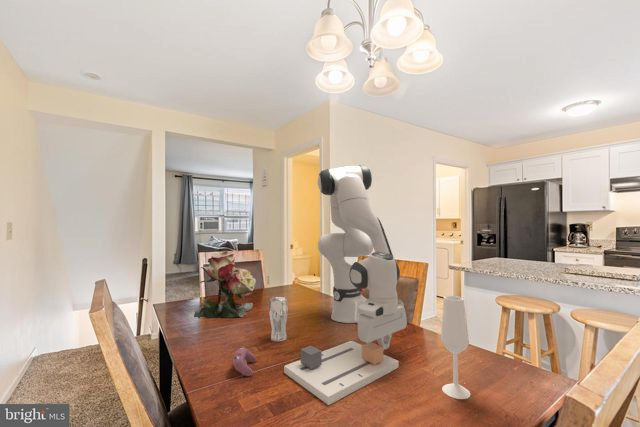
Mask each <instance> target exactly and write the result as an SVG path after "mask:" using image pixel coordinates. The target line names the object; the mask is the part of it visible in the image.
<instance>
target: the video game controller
mask: <svg viewBox="0 0 640 427" xmlns="http://www.w3.org/2000/svg"><path fill="white" fill-rule="evenodd" d="M257 359H258V358H257V356H256V354H254V353H252V352H251V351H249V350H248V349H247V348H245V346H243V347H240V348H238V349H237V350H236V351H235V353H234V358H233V359H232V364H233V367H234V369H235V370H236V371H238V373H240V374H242V375H243V376H244V377H252V375H253V374H254V371H253V369H252V368H251V367H250V366H249V365H248V362H249V363H256V362H257Z"/></svg>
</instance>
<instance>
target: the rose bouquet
mask: <svg viewBox="0 0 640 427" xmlns="http://www.w3.org/2000/svg"><path fill="white" fill-rule="evenodd" d="M235 259H236V256H235V254H234V253H232V252H231V250H230V251H227V250H225V251H223V252H221V253H219V254H217V255H216V256H211V257H210V258H208V259H207V263H208V265H207V266H201V267H200V269H202V270H204V271H205V273H206V274H207V276H208V277H209V279H204V280H201V281H199V284H202V283H212V282H216V281H217V285H218V291H217V302H216V301H215V302H214V301H211V300H208V299H205V298H204V299H203V300H202V302H203V303H204V304H203V305H204V306H200V307H199V308H198V309H197V310H196V311H194V316H193V317H194V318H196V317H198V318H197V319H201V318H200V317H202V318H205V319H218V318H226V319H227V318H237V317H240V318H243V317H244V316H245V315H246V316H247V315H248V314H247V312H248V311H252V309H253V306H254V303H253V302H245V303H241V304H242V305H236V302H235V300H234V295H236V298H238V299H239V300H243V301H244V300H245V298H246V297H249V296H251V295H252V294H253V291H254V289H255V286H256V282H257V279H256V278H254V276H253V275H251V274H252V272H250V271H249V270H248V269H246V268H237V267H235V265H236V263H237V262H235ZM223 296H224V298H225V300H223V301H222V300H221V298H222V297H223ZM239 313H241V314H239ZM242 314H243V315H242Z"/></svg>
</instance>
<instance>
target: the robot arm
mask: <svg viewBox="0 0 640 427" xmlns="http://www.w3.org/2000/svg"><path fill="white" fill-rule="evenodd" d="M372 181H373V176H372V171H371V170H370V168H369V167H368V166H366V165H361V164H359V165H349V166H348V165H347V166H346V165H345V166H342V167H336V168H335V167H334V168H329V169H328V168H326V169H323V170H321V171H320V172H319V174H318V177H317V186H318V189H319V190H320V193H321V194H322V195H324V196H330V197H329V205H330V218H331V219H330V220H331V223H332V224H333V225H334V226H335V227H337V228H339V229H340V230H343V232H330V233H326V234H321V236H320V237H319V238H318V242H317V248H318V252H319V253H320V254H321V255H322V256H323V257H324V258H326V259H327V261H328V262H329V264H330V266H331V268H332V275H333V287H332V294H333V303H332V309H331V310H332V312H331V316H330V318H331V320H333V321H334V322H338V323H347V324H350V323H351V324H352V323H353V324H354V323H355V324H357V337H358V340H360V342H363V343H365V344H366V343H370V342H372V343H373V342H374V341H377V343H378V345H380V346H382V347H383V351H386V350H387V349H389V348H390V342H391V339H392V335H393V333H396V332H399V331H402V330H405V329H406V328H407V324H408V322H407V313H406V312H407V311H406V309H405V306H404V305H405V304H404V302H403V301H402V300H401V299H399V298H398V292H397V284H398V281H399V279H400V277H401V271H400V270H401V269H400V266H399V265H398V262H397V260H396V259H395V256H394V255H393V252H392V249H391V247H390V243H389V241H388V240H389V239H388V237H387V235H386V232H385V229H384V226H383V224H382V222H381V220H380V218H379V217H378V216H376V214H375V213H374V211H373V210H372V207H371V205H370V202H369V198H368V194H367V190H369V189H370V187H371V186H372ZM373 250H374V252H373ZM367 256H368V257H367ZM362 257H366V258H364V259H361V260H358V261H355V262H353V263H352V264H350V263H348V262H346V259H345V258H362ZM365 290H368V298H366V297H365V296H364V295H363V294H362V293H361V292H365Z"/></svg>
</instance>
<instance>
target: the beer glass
mask: <svg viewBox="0 0 640 427" xmlns="http://www.w3.org/2000/svg"><path fill="white" fill-rule="evenodd" d="M268 309H269V311H268V312H269V319H270V325H271V326H270V327H271V334H270V341H272V342H278V343H279V342H283V341H285V340H287V338H288V336H287V328H286V327H287V320H288V309H289V306H288V297H285V296H274V297H271V298H269V308H268Z"/></svg>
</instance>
